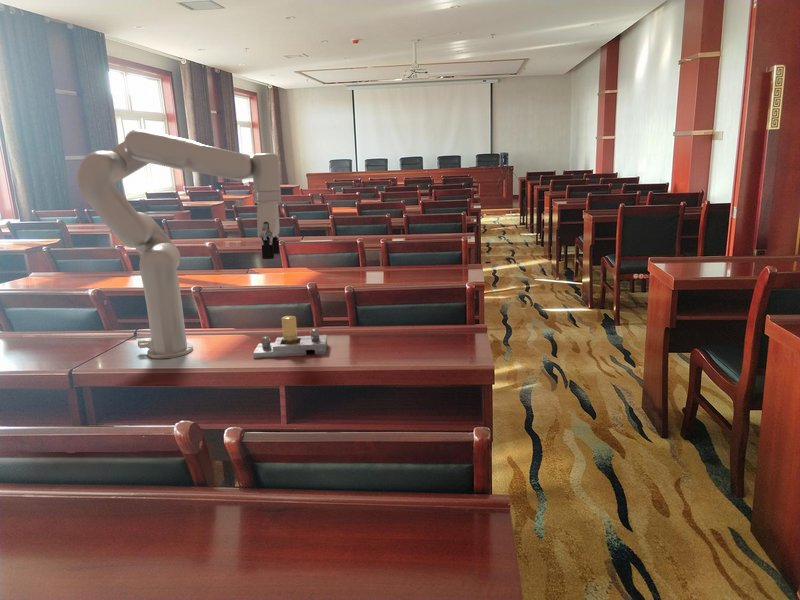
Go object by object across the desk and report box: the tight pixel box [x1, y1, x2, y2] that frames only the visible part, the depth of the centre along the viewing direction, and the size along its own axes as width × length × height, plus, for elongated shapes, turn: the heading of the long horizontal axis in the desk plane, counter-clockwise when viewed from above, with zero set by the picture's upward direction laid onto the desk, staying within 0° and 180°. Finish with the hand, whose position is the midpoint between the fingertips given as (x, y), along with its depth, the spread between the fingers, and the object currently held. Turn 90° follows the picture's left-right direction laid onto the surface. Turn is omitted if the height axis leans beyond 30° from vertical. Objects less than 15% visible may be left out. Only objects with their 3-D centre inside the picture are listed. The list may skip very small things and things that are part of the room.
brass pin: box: [281, 315, 298, 344], centre depth 172 cm, size 4×4×10 cm
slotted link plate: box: [253, 335, 308, 359], centre depth 173 cm, size 14×9×4 cm, turn 94°
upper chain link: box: [273, 328, 328, 355], centre depth 173 cm, size 14×9×6 cm, turn 94°
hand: (271, 256), depth 177 cm, fingers open, 9 cm apart
